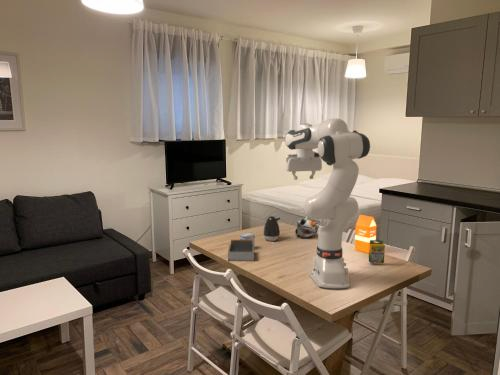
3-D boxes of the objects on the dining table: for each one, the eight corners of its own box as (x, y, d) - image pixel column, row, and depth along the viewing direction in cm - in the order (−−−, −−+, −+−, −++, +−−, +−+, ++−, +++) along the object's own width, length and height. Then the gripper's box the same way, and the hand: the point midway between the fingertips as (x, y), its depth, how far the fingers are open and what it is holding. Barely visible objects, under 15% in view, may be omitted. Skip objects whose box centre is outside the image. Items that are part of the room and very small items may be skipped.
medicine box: (249, 247, 224) (249, 232, 222) (254, 248, 220) (254, 234, 219) (239, 249, 218) (239, 235, 217) (244, 251, 215) (245, 236, 214)
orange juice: (367, 252, 214) (369, 218, 211) (354, 249, 220) (355, 215, 217) (375, 250, 219) (377, 216, 216) (361, 246, 225) (363, 213, 222)
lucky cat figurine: (319, 233, 250) (320, 214, 245) (317, 242, 239) (319, 222, 234) (296, 231, 253) (297, 212, 248) (293, 240, 242) (294, 220, 237)
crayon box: (370, 263, 197) (371, 241, 196) (368, 261, 200) (369, 239, 198) (384, 263, 197) (385, 241, 195) (382, 261, 200) (383, 240, 198)
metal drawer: (253, 261, 200) (253, 247, 199) (227, 260, 200) (227, 247, 199) (253, 252, 213) (253, 239, 212) (229, 252, 213) (229, 239, 212)
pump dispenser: (280, 242, 233) (280, 218, 230) (263, 242, 233) (263, 218, 231) (279, 237, 243) (279, 214, 241) (263, 237, 243) (263, 214, 241)
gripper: (288, 154, 201) (288, 180, 203) (323, 154, 206) (322, 179, 208) (284, 153, 207) (283, 179, 209) (318, 153, 212) (317, 177, 214)
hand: (303, 179), depth 209 cm, fingers open, 8 cm apart
